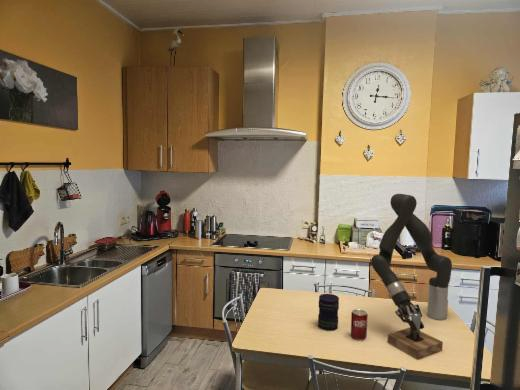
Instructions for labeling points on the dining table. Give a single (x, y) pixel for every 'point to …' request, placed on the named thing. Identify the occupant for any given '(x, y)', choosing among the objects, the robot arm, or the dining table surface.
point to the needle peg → (416, 319)
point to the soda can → (359, 324)
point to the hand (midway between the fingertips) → (419, 329)
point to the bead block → (415, 343)
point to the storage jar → (328, 312)
